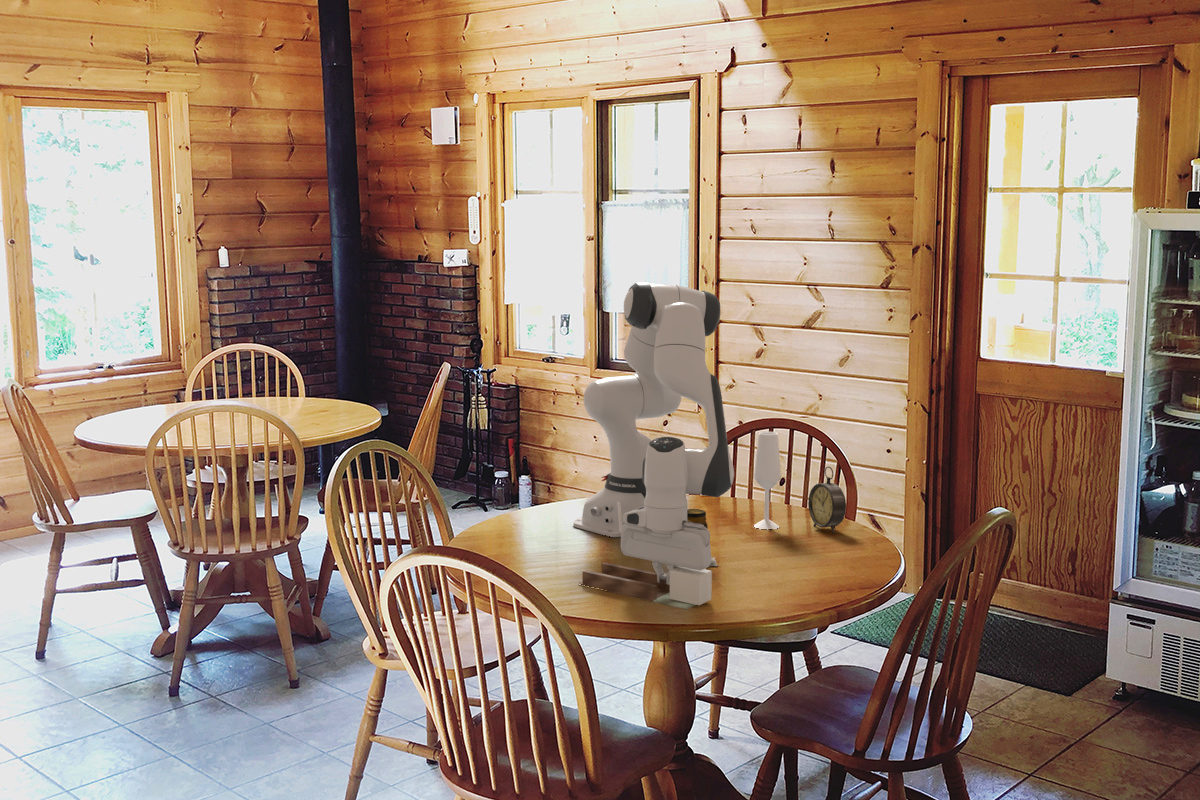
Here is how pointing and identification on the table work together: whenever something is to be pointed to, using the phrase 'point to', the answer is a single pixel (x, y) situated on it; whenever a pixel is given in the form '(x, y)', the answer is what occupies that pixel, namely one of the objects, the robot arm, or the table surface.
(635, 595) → the chute
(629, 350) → the robot arm
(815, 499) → the alarm clock
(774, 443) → the champagne flute
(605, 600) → the table surface
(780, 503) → the table surface
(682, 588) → the block
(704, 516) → the condiment
